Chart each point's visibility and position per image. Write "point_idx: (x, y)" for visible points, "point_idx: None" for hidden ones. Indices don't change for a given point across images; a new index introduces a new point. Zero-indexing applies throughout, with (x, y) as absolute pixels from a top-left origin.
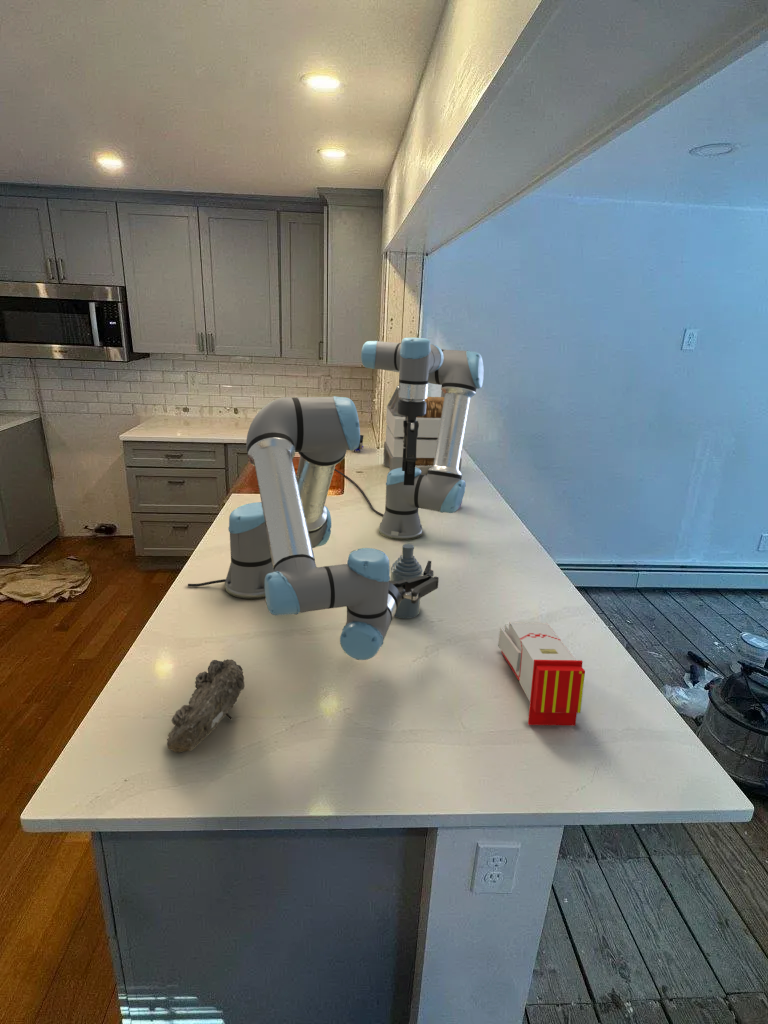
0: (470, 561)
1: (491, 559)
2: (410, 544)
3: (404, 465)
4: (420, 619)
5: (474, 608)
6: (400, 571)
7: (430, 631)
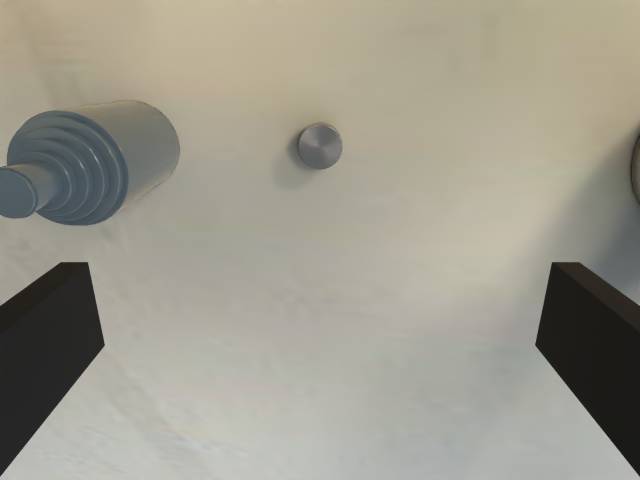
0: (453, 343)
1: (465, 394)
2: (28, 205)
3: (580, 311)
4: None
5: (185, 318)
6: (11, 147)
7: None
